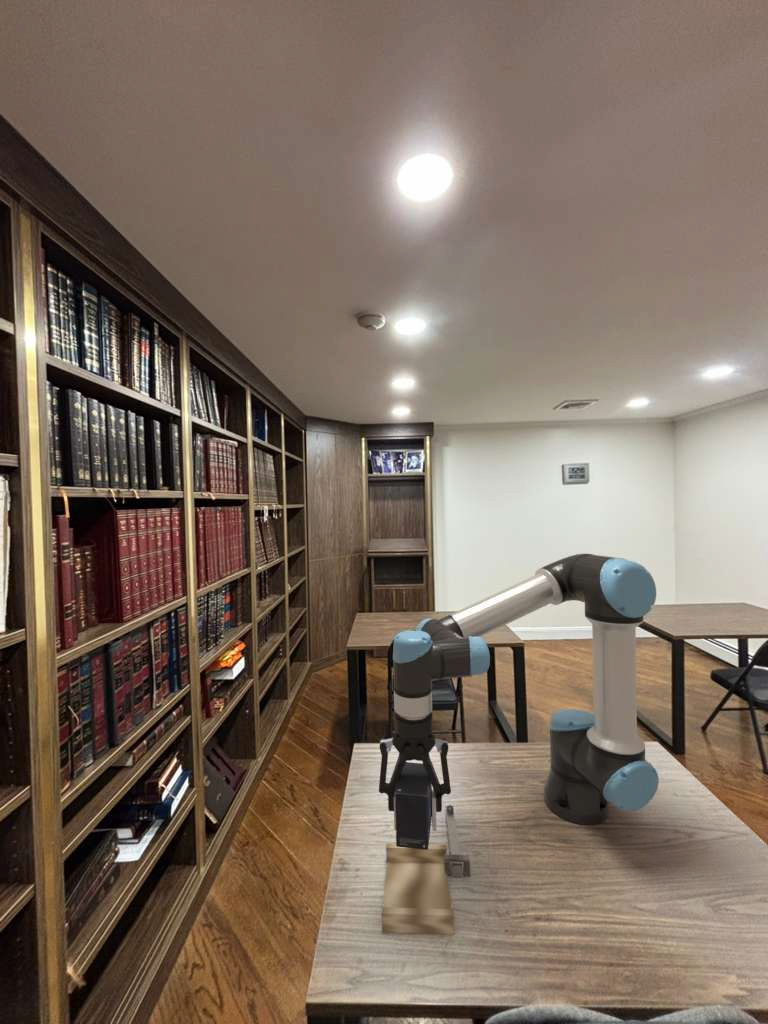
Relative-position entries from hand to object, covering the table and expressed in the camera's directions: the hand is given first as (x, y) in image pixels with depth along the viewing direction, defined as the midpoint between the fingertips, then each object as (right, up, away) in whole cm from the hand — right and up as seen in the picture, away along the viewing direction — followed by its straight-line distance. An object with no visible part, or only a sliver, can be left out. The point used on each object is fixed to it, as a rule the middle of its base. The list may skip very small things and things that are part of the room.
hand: (415, 825), depth 87 cm
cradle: (+3, -14, 0) cm, 14 cm away
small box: (0, -1, 0) cm, 1 cm away
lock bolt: (+10, -13, +13) cm, 21 cm away
